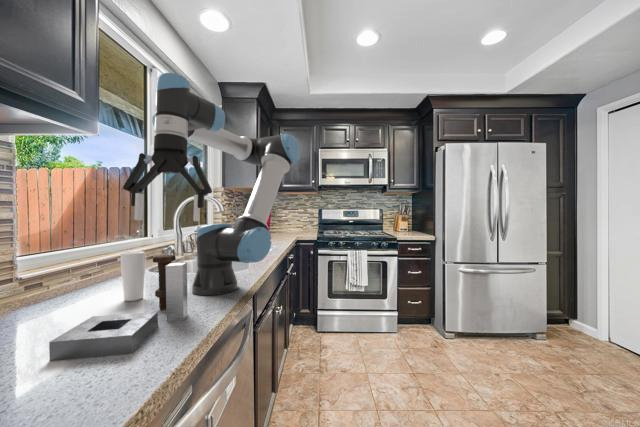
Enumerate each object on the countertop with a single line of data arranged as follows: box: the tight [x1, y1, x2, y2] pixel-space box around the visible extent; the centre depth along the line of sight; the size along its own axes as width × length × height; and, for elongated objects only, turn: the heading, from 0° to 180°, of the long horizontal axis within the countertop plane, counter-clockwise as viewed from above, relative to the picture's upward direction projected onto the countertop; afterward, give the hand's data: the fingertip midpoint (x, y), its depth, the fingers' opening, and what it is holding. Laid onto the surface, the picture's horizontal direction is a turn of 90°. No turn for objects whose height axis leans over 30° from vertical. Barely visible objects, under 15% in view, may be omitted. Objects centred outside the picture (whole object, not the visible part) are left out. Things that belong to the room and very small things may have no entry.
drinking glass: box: [120, 250, 147, 302], centre depth 95 cm, size 7×7×15 cm
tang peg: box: [165, 262, 189, 322], centre depth 77 cm, size 4×4×14 cm
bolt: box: [152, 254, 176, 310], centre depth 85 cm, size 6×5×15 cm
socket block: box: [48, 311, 159, 362], centre depth 63 cm, size 14×14×4 cm
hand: (167, 220), depth 74 cm, fingers open, 13 cm apart
